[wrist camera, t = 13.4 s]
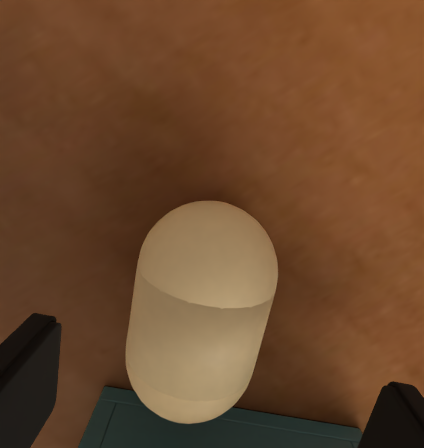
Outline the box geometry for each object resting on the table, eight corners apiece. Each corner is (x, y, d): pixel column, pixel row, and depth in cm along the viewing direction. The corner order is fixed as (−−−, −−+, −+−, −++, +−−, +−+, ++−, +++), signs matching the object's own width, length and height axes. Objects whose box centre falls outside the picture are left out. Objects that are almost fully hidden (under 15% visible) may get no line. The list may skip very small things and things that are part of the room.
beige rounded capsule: (160, 178, 14) (130, 207, 9) (279, 201, 14) (312, 242, 9) (135, 350, 17) (100, 446, 12) (236, 367, 17) (244, 469, 12)
